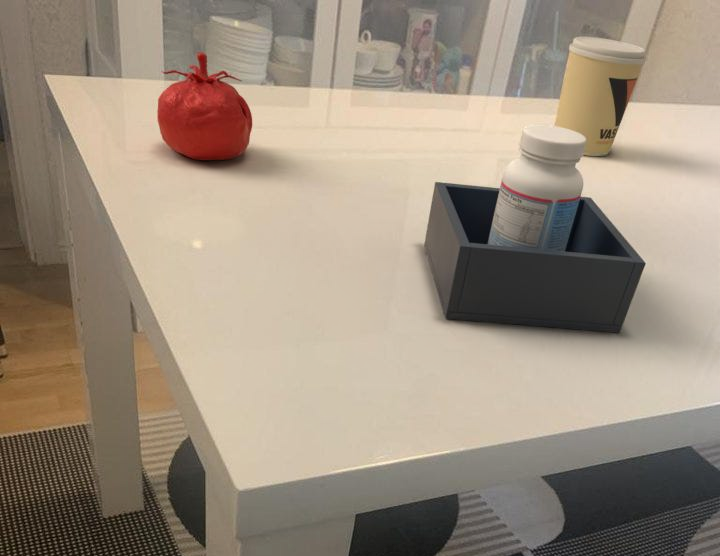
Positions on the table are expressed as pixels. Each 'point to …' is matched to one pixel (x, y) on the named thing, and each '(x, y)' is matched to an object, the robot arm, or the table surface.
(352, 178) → the table surface
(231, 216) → the table surface
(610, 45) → the coffee cup
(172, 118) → the red tomato
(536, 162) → the pill bottle
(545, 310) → the dark grey open box
